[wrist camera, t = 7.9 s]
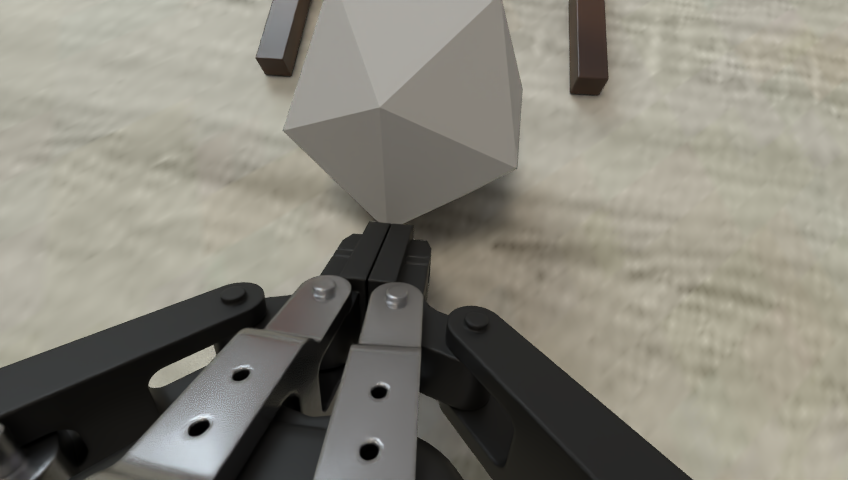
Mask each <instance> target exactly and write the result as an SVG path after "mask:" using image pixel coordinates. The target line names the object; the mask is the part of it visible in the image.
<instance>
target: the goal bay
mask: <svg viewBox="0 0 848 480" xmlns="http://www.w3.org/2000/svg"><path fill="white" fill-rule="evenodd" d="M310 2H311V0H273V2H272V5H271V8H270V12H269V15H268V18H267V22H266V25H265V28H264V32H263V35H262V38H261V42H260V45H259V48H258V52H257V55H256V60H257V61H258V63H259V65H260V66H261V68H262V70H263V71H264V73H265V74H267V75H283V76H291V75H292V71H293V67H294V63H295V60H296V56H297V52H298V48H299V44H300V40H301V36H302V33H303V29H304V25H305V21H306V17H307V13H308V10H309V6H310ZM569 39H570V93H573V94H589V95H599V94H600V92H601V91H602V89H603V87H604V86H605V84H606V82H607V81H608V61H607V42H606V22H605V2H604V0H569Z"/></svg>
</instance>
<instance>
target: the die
mask: <svg viewBox="0 0 848 480" xmlns="http://www.w3.org/2000/svg"><path fill="white" fill-rule="evenodd" d="M522 90H523V89H522V84H521V80H520V76H519V71H518V67H517V63H516V58H515V54H514V50H513V45H512V41H511V37H510V32H509V28H508V24H507V19H506V15H505V11H504V6H503V2H502V0H324V1H323V4H322V7H321V11H320V14H319V17H318V20H317V23H316V26H315V30H314V33H313V36H312V39H311V42H310V46H309V49H308V52H307V55H306V58H305V61H304V65H303V68H302V71H301V74H300V77H299V80H298V84H297V87H296V90H295V93H294V96H293V99H292V103H291V106H290V109H289V112H288V115H287V118H286V122H285V125H284V128H283V131H284V132H285V133H286V134H287V135H288V136H289V137H290V138H291V139H292V140H293V141H294V142H295V143H296V144H297V145H298V146H299V147H300V148H301V149H302V150H303V151H304V152H306V153H307V154H308V155H309V156H310V157H311V158H312V159H313V160H314V161H315V162H316V163H317V164H318V165H319V166H320V167H321V168H322V169H323V170H324V171H325V172H326V173H327V174H329V175H330V176H331V177H332V178H333V179H334V180H335V181H336V182H337V183H338V184H339V185H340V186H341V187H342V188H343V189H344V190H345V191H346V192H347V193H348V194H349V195H350V196H351V197H353V198H354V199H355V200H356V201H357V202H358V203H359V204H360V205H361V206H362V207H363V208H364V209H365V210H366V211H367V212H368V213H369V214H370V215H371V216H372V217H373V218H374V219H376V220H377V221H378V222H382V223H391V224H404V223H406V222H408V221H410V220H412V219H414V218H417V217H419V216H421V215H423V214H425V213H427V212H430V211H432V210H434V209H436V208H438V207H441V206H443V205H445V204H447V203H449V202H451V201H454V200H456V199H458V198H460V197H462V196H464V195H466V194H468V193H470V192H472V191H474V190H476V189H478V188H480V187H482V186H484V185H486V184H488V183H490V182H492V181H494V180H496V179H498V178H500V177H502V176H504V175H506V174H508V173H509V172H511V171H513V170H515V169H517V164H518V149H519V135H520V120H521V105H522Z"/></svg>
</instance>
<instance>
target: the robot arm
mask: <svg viewBox="0 0 848 480" xmlns="http://www.w3.org/2000/svg"><path fill="white" fill-rule="evenodd" d="M413 237H414V226H413V225H403V224H391V223H382V222H372V221H370V222H369V223H368V225H367V227H366V229H365V231H364V232H363V234H352V235H350V236H349V237H347V238H345V239H344V240H343V241H342V242H341V244H340V245H339V247H338V250H336V251H335V253H334V255H333V256H332V258H331V259H330V261H329V262H328V264H327V265H326V267H325V269H324V270H323V272H322V273H321V275H320V276H317V277H313V278H311V279H308V280H307V281H305V282H304V283H302V284H301V285H300V286H299V288H298V289H297V290H296V291H295V292H294V294H293V295H288V296H279V297H269V298H265V296H264V291H263V289H262V288H261V287H260V286H258V285H256V284H253V283H245V282H242V283H233V284H229V285H226V286H223V287H220V288H217V289H214V290H212V291H209V292H206V293H204V294H201V295H198V296H195V297H193V298H190V299H187V300H185V301H182V302H179V303H176V304H174V305H171V306H168V307H165V308H163V309H160V310H157V311H155V312H152V313H149V314H146V315H144V316H141V317H138V318H136V319H133V320H130V321H127V322H125V323H122V324H119V325H117V326H114V327H111V328H108V329H106V330H103V331H100V332H97V333H95V334H92V335H89V336H87V337H84V338H81V339H78V340H76V341H73V342H70V343H68V344H65V345H62V346H59V347H57V348H54V349H51V350H48V351H46V352H43V353H40V354H38V355H35V356H32V357H29V358H27V359H24V360H21V361H19V362H16V363H13V364H10V365H8V366H5V367H2V368H0V480H463V478H462V477H461V475H460V474H459V472H458V471H457V469H456V468H455V467H454V466H453V465H452V463H451V462H450V461H449V460H448V459H447V458H446V457H445V456H444V455H443V454H442V453H441V452H440V451H439V450H437V449H436V448H435V447H433V446H432V445H430V444H429V443H427V442H426V441H424V440H422V439H420V438H419V437H417V430H418V409H419V392H420V393H422V394H425V395H427V396H429V397H431V398H434V399H436V400H438V401H439V405H440V408H441V410H442V412H443V413H444V414H445V416H446V417H447V419H448V420H449V421H450V423H451V424H452V425H453V427H454V428H455V429H456V431H457V432H458V433H459V435H460V436H461V437H462V439H463V440H464V441H465V443H466V444H467V445H468V447H469V448H470V449H471V451H472V452H473V453H474V455H475V456H476V458H477V459H478V460H479V462H480V463H481V464H482V466H483V467H484V468H485V470H486V471H487V472H488V474H489V475H490V476H491V478H492V479H493V480H693V479H691V478H690V477H689V476H688V475H687V474H685V473H684V472H683V471H682V470H681V469H680V468H678V467H677V466H676V465H675V464H674V463H672V462H671V461H670V460H669V459H668V458H666V457H665V456H664V455H663V454H662V453H661V452H659V451H658V450H657V449H656V448H655V447H653V446H652V445H651V444H650V443H649V442H647V441H646V440H645V439H644V438H643V437H642V436H640V435H639V434H638V433H637V432H636V431H634V430H633V429H632V428H631V427H630V426H628V425H627V424H626V423H625V422H624V421H623V420H621V419H620V418H619V417H618V416H617V415H615V414H614V413H613V412H612V411H611V410H609V409H608V408H607V407H606V406H605V405H604V404H602V403H601V402H600V401H599V400H598V399H596V398H595V397H594V396H593V395H592V394H590V393H589V392H588V391H587V390H586V389H585V388H583V387H582V386H581V385H580V384H579V383H577V382H576V381H575V380H574V379H573V378H571V377H570V376H569V375H568V374H567V373H566V372H564V371H563V370H562V369H561V368H560V367H558V366H557V365H556V364H555V363H554V362H552V361H551V360H550V359H549V358H548V357H547V356H545V355H544V354H543V353H542V352H541V351H539V350H538V349H537V348H536V347H535V346H533V345H532V344H531V343H530V342H529V341H528V340H526V339H525V338H524V337H523V336H522V335H520V334H519V333H518V332H517V331H516V330H514V329H513V328H512V327H511V326H510V325H509V324H507V323H506V322H505V321H504V320H503V319H501V318H500V317H499V316H498V315H497V314H495V313H494V312H492V311H490V310H488V309H486V308H482V307H478V306H464V307H460V308H457V309H455V310H454V311H452V312H451V313H450V314H449V315H446V314H443V313H441V312H438V311H436V310H435V309H433V308H432V307H430V306H429V305H428V304H427V302H426V301H427V295H428V288H429V277H430V264H431V250H432V249H431V247H430V245H429V244H428V242H427V241H424V240H414V239H413ZM211 345H214V348H215V351H216V357H215V358H214V359H213V360H212V361H211V362H210V363H209V364H208V365H207V366H205V367H203V368H201V369H199V370H197V371H195V372H193V373H191V374H189V375H187V376H185V377H183V378H181V379H179V380H176V381H174V382H172V383H170V384H168V385H166V386H164V387H160V388H151V387H149V386H148V384H149V381H150V379H151V377H152V376H153V375H154V374H155V373H156V372H157V371H158V370H160V369H162V368H164V367H166V366H168V365H170V364H172V363H174V362H177V361H179V360H181V359H183V358H185V357H187V356H190V355H192V354H194V353H196V352H198V351H201V350H203V349H205V348H207V347H209V346H211Z"/></svg>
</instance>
